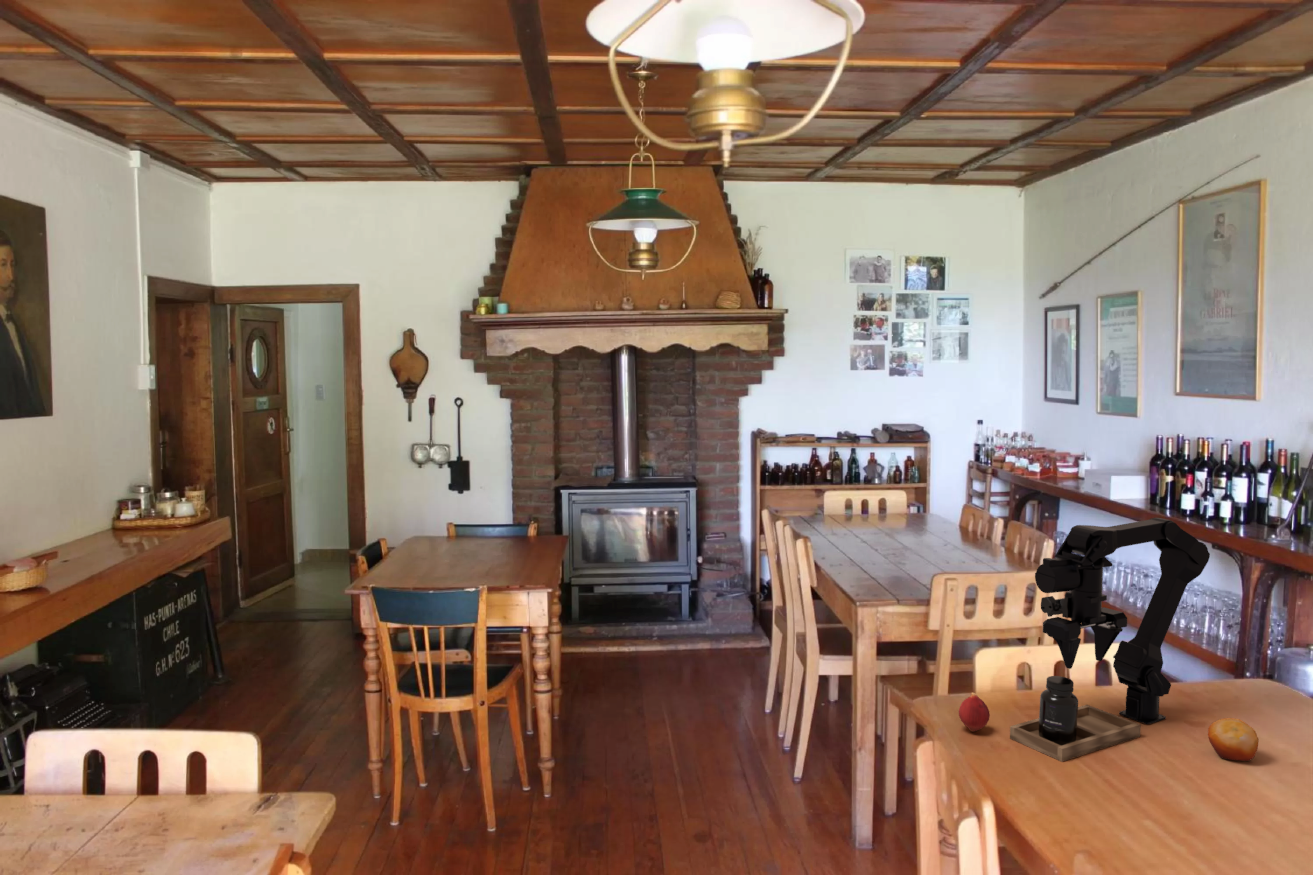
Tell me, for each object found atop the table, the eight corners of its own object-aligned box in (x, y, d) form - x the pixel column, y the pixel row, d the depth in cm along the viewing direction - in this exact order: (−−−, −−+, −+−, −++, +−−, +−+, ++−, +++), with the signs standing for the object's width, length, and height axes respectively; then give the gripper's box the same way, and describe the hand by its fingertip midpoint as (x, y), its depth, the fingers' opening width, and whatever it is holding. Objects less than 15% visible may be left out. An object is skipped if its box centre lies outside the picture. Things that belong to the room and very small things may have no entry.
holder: (1086, 715, 192) (1087, 704, 192) (1140, 736, 182) (1140, 724, 182) (1009, 738, 182) (1010, 726, 181) (1061, 761, 171) (1062, 748, 171)
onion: (984, 725, 188) (985, 687, 187) (992, 737, 182) (993, 698, 181) (955, 724, 188) (956, 687, 188) (962, 736, 183) (963, 697, 182)
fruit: (1252, 740, 176) (1257, 714, 172) (1256, 776, 170) (1262, 749, 166) (1203, 733, 180) (1207, 707, 175) (1206, 768, 174) (1211, 741, 169)
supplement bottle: (1045, 746, 176) (1047, 685, 175) (1033, 731, 183) (1035, 673, 182) (1082, 747, 175) (1084, 686, 174) (1069, 732, 182) (1071, 673, 181)
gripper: (1082, 575, 196) (1079, 646, 198) (1021, 585, 187) (1019, 660, 189) (1130, 586, 186) (1127, 661, 188) (1068, 598, 178) (1066, 676, 179)
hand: (1083, 664), depth 186 cm, fingers open, 9 cm apart
